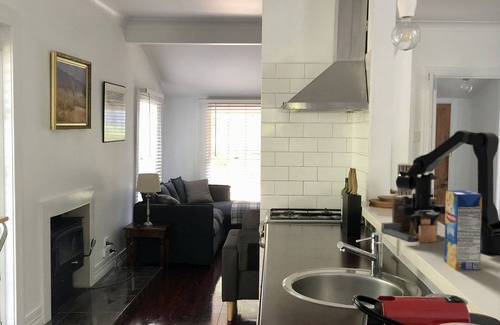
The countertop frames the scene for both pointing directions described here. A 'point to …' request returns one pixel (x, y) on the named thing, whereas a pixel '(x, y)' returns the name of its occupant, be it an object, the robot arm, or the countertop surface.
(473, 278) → the countertop surface
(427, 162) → the robot arm
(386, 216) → the countertop surface
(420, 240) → the grey brown long block
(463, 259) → the beverage box
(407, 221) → the spice cubby
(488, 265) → the countertop surface
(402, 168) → the bark textured block
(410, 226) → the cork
